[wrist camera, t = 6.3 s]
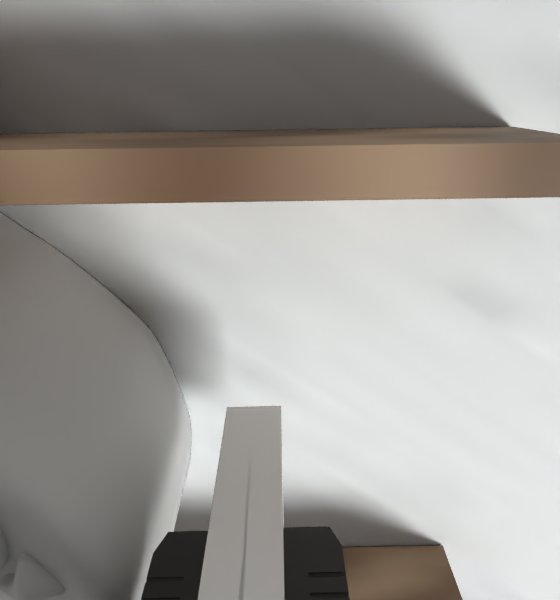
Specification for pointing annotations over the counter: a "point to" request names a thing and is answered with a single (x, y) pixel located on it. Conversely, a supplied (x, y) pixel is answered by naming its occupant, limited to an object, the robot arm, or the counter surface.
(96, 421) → the lumpy-topped squat cylinder
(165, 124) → the counter surface
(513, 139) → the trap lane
